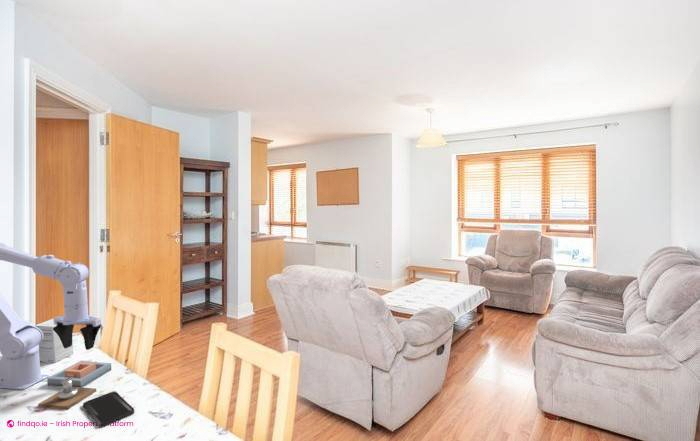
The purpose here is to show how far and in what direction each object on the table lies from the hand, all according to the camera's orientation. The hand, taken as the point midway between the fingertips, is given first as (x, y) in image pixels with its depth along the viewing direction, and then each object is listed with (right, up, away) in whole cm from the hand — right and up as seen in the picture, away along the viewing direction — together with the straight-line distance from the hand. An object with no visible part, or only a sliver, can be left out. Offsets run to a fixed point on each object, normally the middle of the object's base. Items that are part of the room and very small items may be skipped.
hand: (78, 347), depth 113 cm
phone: (+20, -11, -16) cm, 28 cm away
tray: (0, -9, +1) cm, 9 cm away
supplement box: (-19, -9, +15) cm, 26 cm away
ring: (0, -9, +1) cm, 9 cm away
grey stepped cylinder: (+5, -10, -11) cm, 16 cm away
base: (+5, -10, -11) cm, 16 cm away
